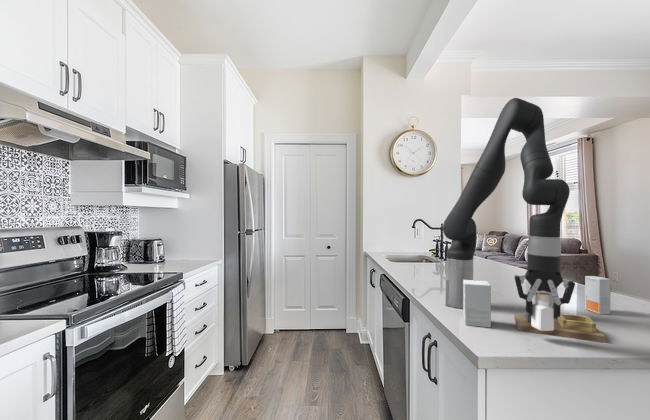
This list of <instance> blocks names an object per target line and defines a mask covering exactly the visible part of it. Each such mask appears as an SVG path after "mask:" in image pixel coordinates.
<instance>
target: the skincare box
mask: <svg viewBox="0 0 650 420" xmlns="http://www.w3.org/2000/svg"><path fill="white" fill-rule="evenodd" d="M611 281H612V280H611V279H610V278H606V277H601V276H596V275H585V276H584V283H585V284H584V310H587V311H590V312H593V313H595V314H598V315H610V314H611Z"/></svg>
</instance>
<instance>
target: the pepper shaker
mask: <svg viewBox="0 0 650 420" xmlns="http://www.w3.org/2000/svg"><path fill="white" fill-rule="evenodd" d="M549 303H550V294H548V293H543V292H537V293H536V304H535V303H533V306H532V315H531V325H532V327H534V328H536V329H538V330H540V331H553V330H554V308H553V307H551V306H550V305H549Z"/></svg>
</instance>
